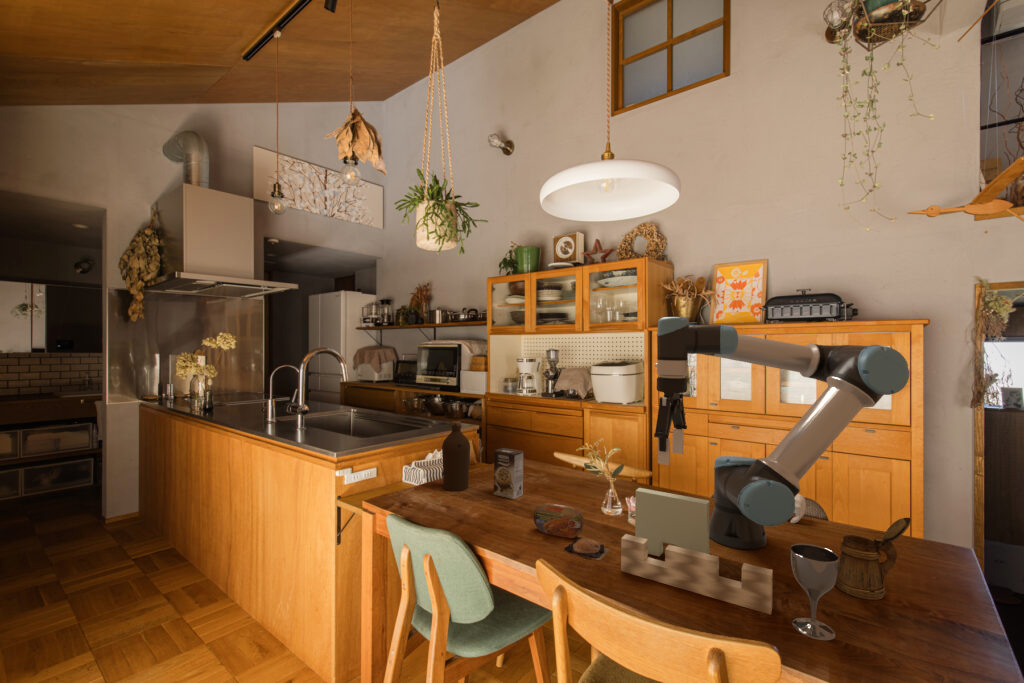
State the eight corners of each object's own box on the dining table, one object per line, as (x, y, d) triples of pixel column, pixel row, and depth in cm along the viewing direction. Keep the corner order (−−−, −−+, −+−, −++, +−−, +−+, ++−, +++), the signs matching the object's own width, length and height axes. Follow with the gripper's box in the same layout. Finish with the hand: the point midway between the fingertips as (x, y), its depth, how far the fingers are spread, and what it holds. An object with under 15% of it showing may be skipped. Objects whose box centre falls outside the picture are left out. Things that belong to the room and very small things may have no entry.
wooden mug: (916, 611, 98) (916, 525, 97) (837, 593, 104) (838, 512, 104) (905, 591, 105) (906, 511, 105) (833, 575, 112) (833, 501, 112)
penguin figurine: (801, 497, 142) (759, 491, 150) (804, 525, 142) (761, 518, 150) (806, 492, 147) (765, 487, 155) (809, 520, 146) (767, 513, 154)
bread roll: (611, 552, 125) (611, 538, 125) (599, 564, 118) (599, 550, 118) (574, 542, 131) (575, 529, 131) (561, 553, 124) (561, 539, 124)
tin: (532, 531, 137) (533, 502, 137) (537, 527, 140) (537, 499, 140) (581, 541, 130) (581, 511, 130) (585, 537, 133) (585, 507, 133)
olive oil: (475, 486, 178) (476, 421, 178) (455, 493, 170) (456, 425, 170) (456, 481, 185) (456, 418, 185) (435, 487, 176) (436, 421, 176)
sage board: (635, 550, 125) (635, 490, 125) (638, 546, 127) (639, 487, 127) (706, 568, 115) (707, 504, 115) (709, 564, 117) (709, 500, 117)
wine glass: (794, 636, 89) (794, 557, 89) (786, 613, 96) (786, 540, 96) (843, 646, 86) (844, 564, 86) (831, 621, 94) (832, 547, 93)
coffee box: (492, 494, 169) (493, 450, 169) (503, 490, 174) (503, 447, 174) (513, 499, 164) (513, 453, 164) (523, 494, 169) (524, 450, 169)
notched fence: (621, 571, 114) (621, 538, 114) (625, 566, 116) (625, 533, 116) (770, 614, 96) (771, 575, 96) (772, 607, 98) (772, 569, 98)
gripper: (670, 373, 133) (669, 447, 134) (642, 378, 113) (641, 466, 113) (698, 374, 129) (697, 451, 129) (673, 380, 109) (672, 471, 109)
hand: (671, 458), depth 121 cm, fingers open, 13 cm apart
